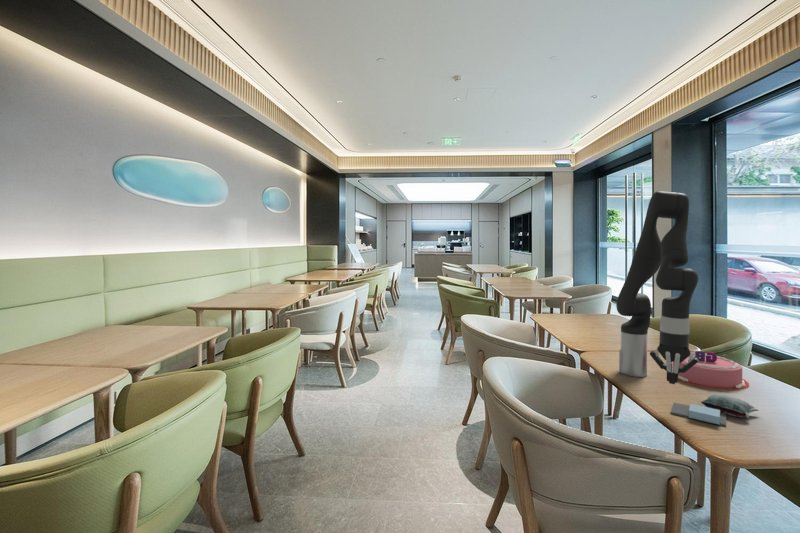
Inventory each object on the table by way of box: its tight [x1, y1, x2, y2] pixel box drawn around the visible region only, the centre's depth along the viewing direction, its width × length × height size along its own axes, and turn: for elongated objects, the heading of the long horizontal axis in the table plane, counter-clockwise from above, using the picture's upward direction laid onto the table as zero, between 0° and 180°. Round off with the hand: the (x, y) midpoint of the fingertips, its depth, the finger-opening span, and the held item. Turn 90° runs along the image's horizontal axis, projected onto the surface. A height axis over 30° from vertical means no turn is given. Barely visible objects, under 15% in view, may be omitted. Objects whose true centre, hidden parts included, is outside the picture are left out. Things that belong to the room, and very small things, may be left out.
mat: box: [670, 402, 727, 427], centre depth 113 cm, size 13×9×1 cm
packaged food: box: [700, 392, 760, 419], centre depth 114 cm, size 9×12×5 cm
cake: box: [672, 350, 750, 391], centre depth 144 cm, size 25×25×11 cm
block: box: [689, 403, 721, 426], centre depth 110 cm, size 2×7×6 cm
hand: (672, 383), depth 117 cm, fingers closed
